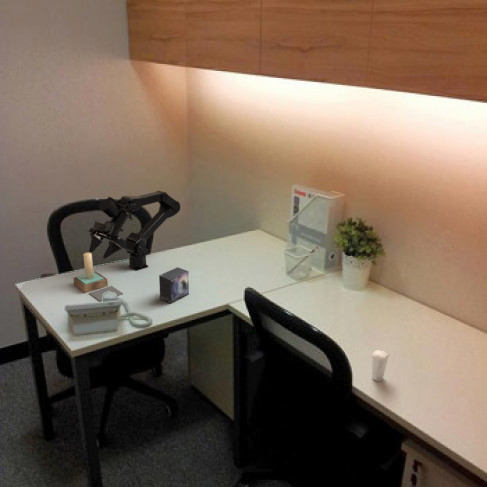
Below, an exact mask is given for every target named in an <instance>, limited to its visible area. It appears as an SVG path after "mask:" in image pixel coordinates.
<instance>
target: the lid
mask: <svg viewBox="0 0 487 487" xmlns="http://www.w3.org/2000/svg"><path fill="white" fill-rule="evenodd" d="M92 253H93V252H92ZM92 253H90V252H89V251H88V252H84V253H83V263H84V272H85V274H86V275H84V274H82V275H83V276H81V275H78V276H79V277H77V276H75V277H76V279H77V280H79V281H80V282H81V283H83V284H84V285H86V284H90V283H93V282H96V281H100V280H103V279H104V278H103V277H101V276H99V275H98V274H96V273H95V272H94V265H93V264H94V263H93V255H92Z"/></svg>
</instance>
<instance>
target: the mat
mask: <svg viewBox="0 0 487 487" xmlns="http://www.w3.org/2000/svg"><path fill="white" fill-rule="evenodd" d="M107 291H111V292H115V293H116V294H117V296H116V297H118V296H119V297H120V296H122V295H123V294H124V293H123V292H122V291H120V290H119V289H118V288H115V287H114V286H113V285H110V286H107V287H103V288H100V289H97V290H94V291H91V292H88V293H89V295H90V296H91V297H92V298H94V299H96V300H97V301H98V302H103V301H102V294H103V293H104V292H107Z"/></svg>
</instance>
